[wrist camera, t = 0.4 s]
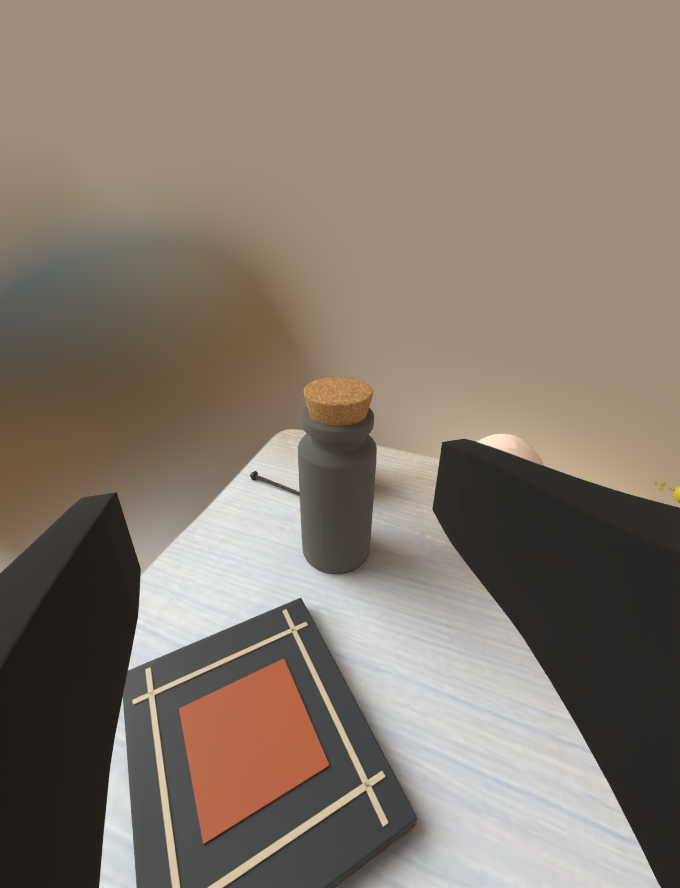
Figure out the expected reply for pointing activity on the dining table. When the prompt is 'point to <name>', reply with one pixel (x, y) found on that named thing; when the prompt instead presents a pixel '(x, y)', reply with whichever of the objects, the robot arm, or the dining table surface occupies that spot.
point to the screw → (255, 475)
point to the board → (255, 763)
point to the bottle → (337, 473)
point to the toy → (678, 493)
